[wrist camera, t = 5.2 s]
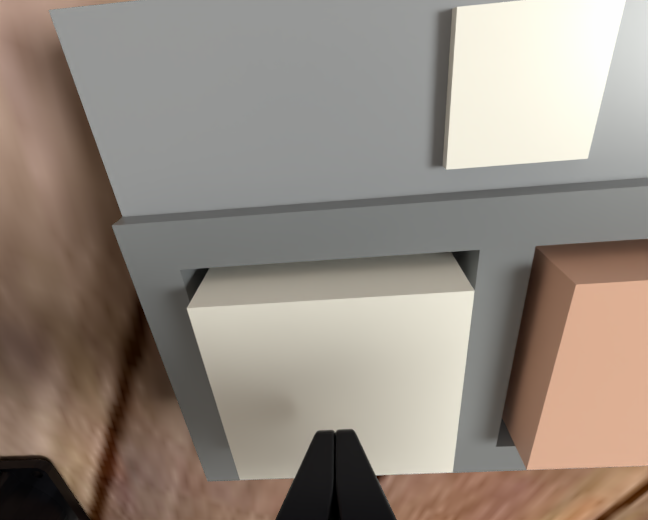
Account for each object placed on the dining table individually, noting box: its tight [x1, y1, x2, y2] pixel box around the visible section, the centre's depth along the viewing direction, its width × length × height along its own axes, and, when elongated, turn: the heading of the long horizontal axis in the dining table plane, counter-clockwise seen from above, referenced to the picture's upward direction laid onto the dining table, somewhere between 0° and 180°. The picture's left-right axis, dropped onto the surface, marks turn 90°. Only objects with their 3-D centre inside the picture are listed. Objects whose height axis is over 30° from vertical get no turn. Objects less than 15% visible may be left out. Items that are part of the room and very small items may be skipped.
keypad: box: [49, 0, 648, 481], centre depth 10 cm, size 13×25×4 cm, turn 95°
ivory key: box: [187, 252, 475, 480], centre depth 10 cm, size 6×6×2 cm
